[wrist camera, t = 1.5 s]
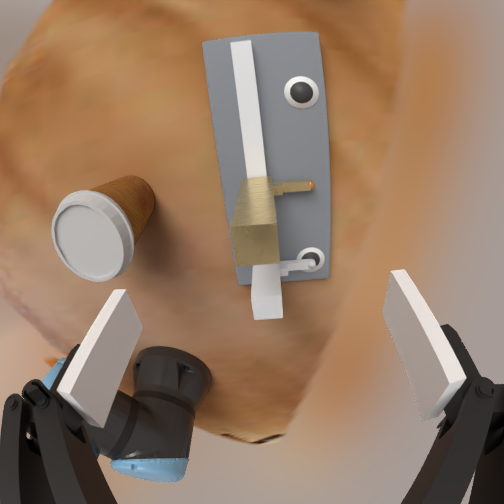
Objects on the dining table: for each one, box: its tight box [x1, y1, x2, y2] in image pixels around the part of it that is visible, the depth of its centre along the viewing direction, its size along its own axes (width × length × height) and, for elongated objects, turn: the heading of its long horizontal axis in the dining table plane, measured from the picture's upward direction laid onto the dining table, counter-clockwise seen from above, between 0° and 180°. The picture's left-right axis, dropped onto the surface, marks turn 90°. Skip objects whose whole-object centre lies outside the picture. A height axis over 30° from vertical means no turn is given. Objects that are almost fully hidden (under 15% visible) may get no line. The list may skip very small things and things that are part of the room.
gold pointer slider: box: [230, 176, 315, 267], centre depth 24 cm, size 3×8×13 cm, turn 96°
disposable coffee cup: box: [51, 176, 155, 282], centre depth 28 cm, size 10×10×12 cm
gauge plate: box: [202, 32, 331, 320], centre depth 27 cm, size 30×12×10 cm, turn 6°
